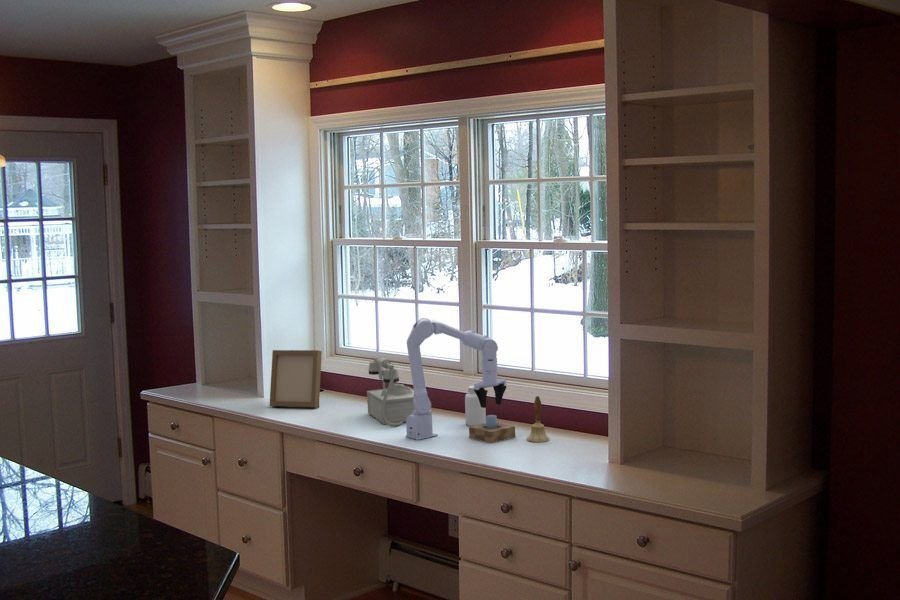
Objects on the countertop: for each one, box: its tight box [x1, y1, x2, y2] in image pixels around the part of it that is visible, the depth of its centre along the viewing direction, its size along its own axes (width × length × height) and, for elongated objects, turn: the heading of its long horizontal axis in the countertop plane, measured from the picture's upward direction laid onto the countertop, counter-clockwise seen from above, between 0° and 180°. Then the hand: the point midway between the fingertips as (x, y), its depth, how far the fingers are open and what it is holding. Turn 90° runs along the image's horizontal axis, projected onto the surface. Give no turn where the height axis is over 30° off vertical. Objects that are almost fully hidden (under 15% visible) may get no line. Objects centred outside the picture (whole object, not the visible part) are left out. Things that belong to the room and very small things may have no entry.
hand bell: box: [526, 395, 550, 443], centre depth 354 cm, size 8×8×16 cm
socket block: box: [468, 422, 516, 444], centre depth 361 cm, size 12×12×4 cm
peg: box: [486, 414, 498, 429], centre depth 361 cm, size 4×4×8 cm
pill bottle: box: [464, 385, 487, 427], centre depth 383 cm, size 8×8×15 cm
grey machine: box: [366, 356, 415, 427], centre depth 399 cm, size 32×20×25 cm, turn 20°
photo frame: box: [269, 349, 323, 408], centre depth 433 cm, size 15×22×25 cm
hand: (490, 405), depth 369 cm, fingers open, 7 cm apart
